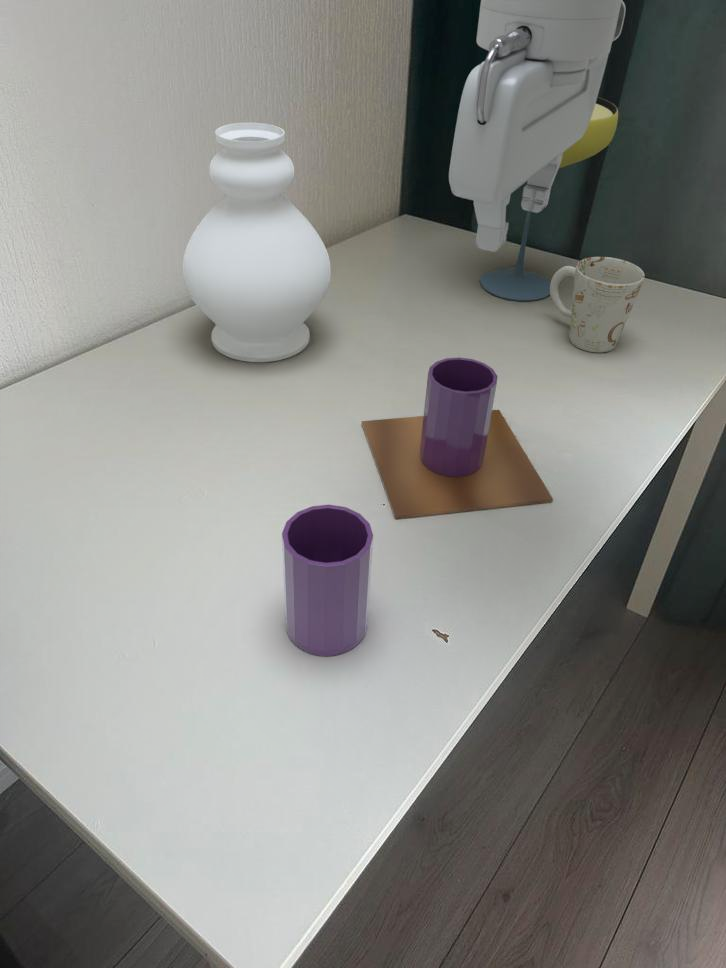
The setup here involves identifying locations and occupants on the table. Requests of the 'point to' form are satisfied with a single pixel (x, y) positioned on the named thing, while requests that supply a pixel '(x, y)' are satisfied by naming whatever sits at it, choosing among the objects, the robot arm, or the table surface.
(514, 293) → the cocktail glass
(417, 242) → the table surface
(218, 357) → the table surface
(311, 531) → the cup
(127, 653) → the table surface
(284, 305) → the decorative vase
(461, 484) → the mat
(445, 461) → the cup
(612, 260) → the mug
